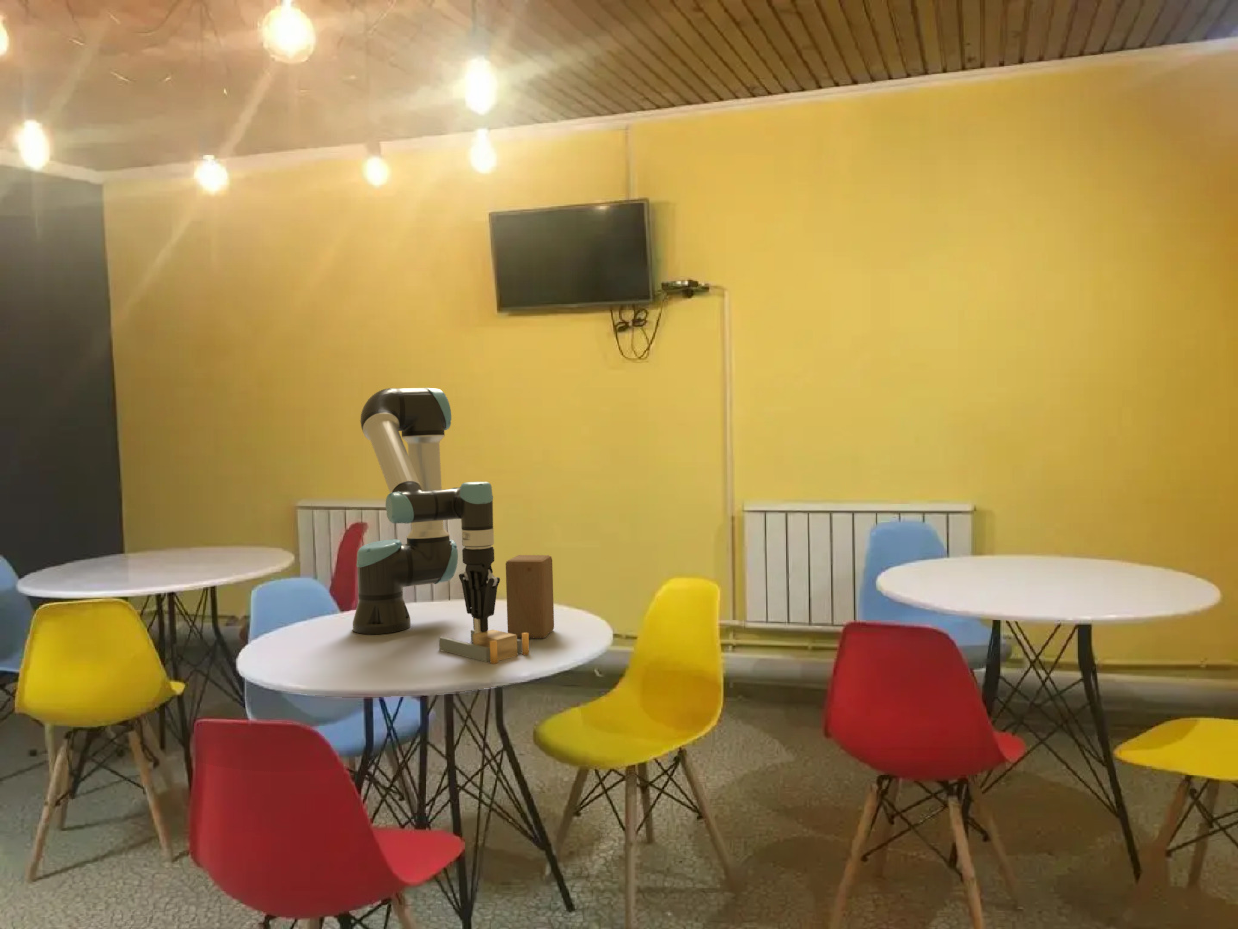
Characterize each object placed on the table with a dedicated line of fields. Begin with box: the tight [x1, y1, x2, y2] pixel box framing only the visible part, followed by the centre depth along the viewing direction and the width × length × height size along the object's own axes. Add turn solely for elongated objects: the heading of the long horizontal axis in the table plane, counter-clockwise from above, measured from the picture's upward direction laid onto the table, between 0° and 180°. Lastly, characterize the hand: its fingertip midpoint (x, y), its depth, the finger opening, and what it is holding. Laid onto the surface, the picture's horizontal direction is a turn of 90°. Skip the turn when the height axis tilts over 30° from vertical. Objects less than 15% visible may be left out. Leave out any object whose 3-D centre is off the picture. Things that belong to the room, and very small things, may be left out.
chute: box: [438, 629, 530, 665], centre depth 219 cm, size 21×11×5 cm, turn 47°
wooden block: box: [505, 554, 555, 640], centre depth 236 cm, size 10×10×20 cm
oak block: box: [472, 629, 519, 662], centre depth 216 cm, size 9×6×5 cm, turn 47°
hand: (481, 644), depth 220 cm, fingers closed
